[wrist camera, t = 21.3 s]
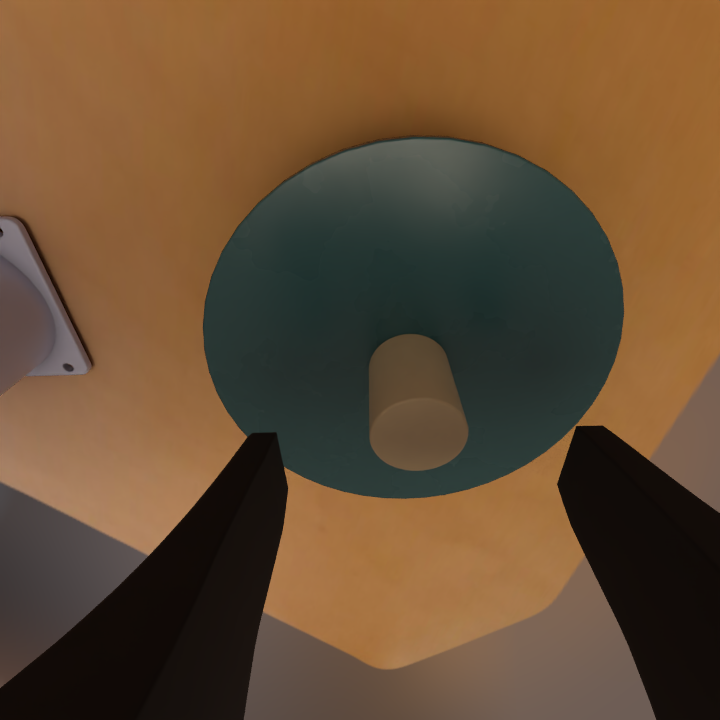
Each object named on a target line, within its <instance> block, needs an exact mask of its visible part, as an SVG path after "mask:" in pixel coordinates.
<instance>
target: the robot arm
mask: <svg viewBox="0 0 720 720" xmlns="http://www.w3.org/2000/svg"><path fill="white" fill-rule="evenodd" d="M0 228H1V229H2V230H3V233H1V232H0V396H1V395H2V394H4V393H5V392H6V391H7V390H8V389H10V388H11V387H12V386H13V385H15V384H16V383H17V382H18V381H20V380H21V379H22V378H23V377H24V376H51V375H83V374H86V373H87V372H88V371H89V370H90V369H91V367H92V366H91V362H90V360H89V358H88V356H87V354H86V352H85V350H84V348H83V346H82V344H81V342H80V340H79V338H78V336H77V334H76V332H75V329H74V327H73V325H72V323H71V321H70V319H69V317H68V315H67V313H66V311H65V309H64V307H63V305H62V303H61V301H60V299H59V296H58V294H57V292H56V290H55V288H54V286H53V284H52V282H51V280H50V278H49V276H48V274H47V272H46V270H45V268H44V266H43V263H42V261H41V259H40V257H39V255H38V253H37V251H36V249H35V247H34V245H33V243H32V241H31V239H30V237H29V235H28V233H27V230H26V228H25V227H24V225H23V224H22V223H21V222H20V221H19V220H18V219H16V218H14V217H10V216H2V217H0ZM69 364H70V365H72V367H71V366H70V365H69ZM557 485H558V488H559V492H560V495H561V498H562V501H563V504H564V507H565V510H566V513H567V515H568V518H569V521H570V524H571V526H572V528H573V531H574V533H575V535H576V537H577V539H578V541H579V543H580V545H581V547H582V550H583V552H584V554H585V556H586V558H587V560H588V562H589V564H590V566H591V568H592V570H593V572H594V574H595V576H596V578H597V580H598V582H599V584H600V586H601V589H602V590H603V592H604V595H605V597H606V599H607V601H608V603H609V605H610V607H611V609H612V611H613V613H614V615H615V617H616V619H617V621H618V623H619V625H620V628H621V630H622V632H623V634H624V637H625V639H626V641H627V643H628V645H629V648H630V651H631V653H632V656H633V658H634V661H635V664H636V666H637V669H638V672H639V674H640V677H641V679H642V682H643V685H644V687H645V690H646V692H647V695H648V698H649V700H650V703H651V706H652V709H653V712H654V714H655V717H656V720H720V513H718V512H717V511H716V510H714V509H713V508H712V507H710V506H709V505H707V504H706V503H705V502H703V501H702V500H701V499H699V498H698V497H697V496H695V495H694V494H692V493H691V492H690V491H688V490H687V489H686V488H684V487H683V486H682V485H680V484H679V483H678V482H676V481H675V480H674V479H672V478H671V477H670V476H668V475H667V474H666V473H665V472H663V471H662V470H661V469H659V468H658V467H657V466H655V465H654V464H653V463H652V462H650V461H649V460H648V459H646V458H645V457H644V456H642V455H641V454H640V453H639V452H637V451H636V450H635V449H633V448H632V447H631V446H629V445H628V444H627V443H626V442H624V441H623V440H622V439H620V438H619V437H618V436H616V435H615V434H614V433H612V432H611V431H609V430H608V429H607V428H605V427H604V426H576V429H575V432H574V435H573V438H572V441H571V444H570V447H569V450H568V453H567V456H566V459H565V462H564V465H563V468H562V471H561V474H560V477H559V480H558V483H557ZM287 494H288V485H287V480H286V475H285V471H284V466H283V461H282V456H281V451H280V447H279V442H278V437H277V432H263V433H251V434H250V435H249V436H248V437H247V439H246V440H245V441H244V443H243V444H242V445H241V447H240V448H239V449H238V451H237V452H236V453H235V455H234V456H233V457H232V459H231V460H230V461H229V463H228V464H227V465H226V467H225V468H224V469H223V470H222V472H221V473H220V474H219V476H218V477H217V478H216V479H215V481H214V482H213V483H212V484H211V486H210V487H209V488H208V489H207V490H206V492H205V493H204V494H203V495H202V497H201V498H200V499H199V500H198V501H197V503H196V504H195V505H194V506H193V507H192V509H191V510H190V511H189V512H188V513H187V514H186V516H185V517H184V518H183V519H182V520H181V521H180V522H179V523H178V525H177V526H176V527H175V528H174V529H173V530H172V531H171V532H170V534H169V535H168V536H167V537H166V538H165V539H164V540H163V541H162V542H161V543H160V545H159V546H158V547H157V548H156V549H155V550H154V551H153V552H152V553H151V554H150V555H149V556H148V557H147V558H146V559H145V560H144V561H143V562H142V563H141V564H140V565H139V567H137V568H136V569H135V570H134V572H132V573H131V574H130V575H129V576H128V577H127V578H126V579H125V580H124V581H123V582H122V583H121V584H120V585H119V586H118V587H117V588H116V589H115V590H114V591H113V592H112V593H111V594H110V595H108V596H107V597H106V598H105V599H104V600H103V601H102V602H101V603H100V604H99V605H98V606H96V607H95V608H94V609H93V610H92V611H91V612H90V613H89V614H88V615H87V616H86V617H84V618H83V619H82V620H81V621H80V622H79V623H78V624H77V625H76V626H75V627H73V628H72V629H71V630H70V631H69V632H68V633H67V634H65V635H64V636H63V637H62V638H61V639H59V640H58V641H57V642H56V643H55V644H54V645H52V646H51V647H50V648H49V649H47V650H46V651H45V652H44V653H43V654H41V655H40V656H39V657H38V658H37V659H35V660H34V661H33V662H32V663H30V664H29V665H28V666H27V667H25V668H24V669H23V670H22V671H21V672H19V673H18V674H17V675H16V676H14V677H13V678H12V679H11V680H10V681H8V682H7V683H6V684H5V685H4V686H2V687H1V688H0V720H244V713H245V707H246V700H247V693H248V687H249V680H250V673H251V667H252V662H253V655H254V649H255V644H256V639H257V634H258V629H259V625H260V620H261V616H262V612H263V608H264V604H265V600H266V596H267V592H268V588H269V584H270V580H271V576H272V572H273V568H274V564H275V560H276V556H277V551H278V547H279V543H280V539H281V535H282V531H283V525H284V518H285V510H286V502H287Z"/></svg>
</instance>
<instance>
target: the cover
mask: <svg viewBox="0 0 720 720" xmlns="http://www.w3.org/2000/svg"><path fill="white" fill-rule="evenodd" d="M623 317H624V303H623V286H622V282H621V277H620V272H619V267H618V263H617V260H616V257H615V255H614V252H613V250H612V247H611V245H610V242H609V240H608V238H607V236H606V234H605V232H604V231H603V229H602V228H601V226H600V224H599V223H598V221H597V220H596V218H595V216H594V215H593V213H592V212H591V211H590V210H589V209H588V208H587V206H586V205H585V204H584V203H583V202H582V201H581V200H580V199H579V198H578V196H577V195H576V194H575V193H574V192H573V191H572V190H571V189H570V188H568V187H567V186H566V185H565V184H563V183H562V182H561V181H559V180H558V179H557V178H556V177H554V176H553V175H552V174H550V173H549V172H548V171H546V170H545V169H543V168H541V167H539V166H537V165H535V164H533V163H532V162H530V161H528V160H526V159H524V158H522V157H521V156H519V155H516V154H514V153H511V152H508V151H505V150H502V149H499V148H497V147H494V146H491V145H488V144H485V143H482V142H477V141H472V140H466V139H460V138H455V137H449V136H422V135H411V136H403V137H394V138H386V139H378V140H374V141H370V142H367V143H363V144H360V145H356V146H352V147H349V148H345V149H342V150H340V151H338V152H335V153H333V154H331V155H329V156H326V157H324V158H322V159H319V160H317V161H315V162H313V163H311V164H309V165H308V166H306V167H305V168H303V169H301V170H300V171H298V172H297V173H295V174H293V175H292V176H290V177H289V178H287V179H285V180H284V181H283V182H282V183H281V184H279V185H278V186H277V187H276V188H275V189H274V190H272V191H271V192H270V193H269V194H268V195H267V196H265V197H264V198H263V199H262V200H261V201H260V202H259V203H258V204H257V205H256V206H255V207H254V208H253V209H252V211H251V212H250V213H249V214H248V215H247V216H246V217H245V219H244V220H243V221H242V222H241V223H240V224H239V226H238V227H237V228H236V230H235V232H234V233H233V235H232V236H231V238H230V240H229V241H228V243H227V244H226V246H225V248H224V249H223V251H222V253H221V255H220V257H219V260H218V262H217V265H216V267H215V269H214V272H213V274H212V276H211V280H210V284H209V288H208V292H207V296H206V300H205V308H204V319H203V335H204V350H205V355H206V359H207V364H208V368H209V373H210V375H211V378H212V380H213V383H214V386H215V388H216V391H217V393H218V395H219V397H220V399H221V401H222V403H223V404H224V406H225V408H226V410H227V412H228V413H229V414H230V416H231V417H232V419H233V420H234V421H235V423H236V424H237V425H238V427H239V428H240V429H241V430H242V431H243V432H244V434H245V435H246V436H247V437H248V436H249V435H250V434H251V433H263V432H277V437H278V442H279V447H280V451H281V456H282V461H283V466H284V467H286V468H287V469H289V470H291V471H293V472H295V473H297V474H298V475H300V476H302V477H304V478H306V479H309V480H311V481H314V482H316V483H319V484H321V485H324V486H327V487H330V488H333V489H337V490H340V491H343V492H348V493H353V494H358V495H363V496H371V497H380V498H402V499H406V498H424V497H432V496H439V495H446V494H450V493H455V492H459V491H463V490H468V489H471V488H474V487H477V486H480V485H483V484H486V483H489V482H491V481H494V480H496V479H498V478H501V477H503V476H505V475H508V474H510V473H511V472H513V471H515V470H517V469H519V468H521V467H523V466H524V465H526V464H528V463H529V462H531V461H532V460H534V459H535V458H537V457H538V456H540V455H541V454H543V453H544V452H546V451H547V450H548V449H550V448H551V447H552V446H553V445H554V444H556V443H557V442H558V441H559V440H560V439H562V438H563V437H564V436H565V435H566V434H567V433H568V432H569V431H570V430H571V429H572V428H573V427H574V426H575V425H576V424H577V423H578V422H579V420H580V419H581V418H582V417H583V415H584V414H585V413H586V411H587V410H588V409H589V408H590V406H591V405H592V404H593V402H594V401H595V399H596V397H597V396H598V394H599V392H600V391H601V389H602V387H603V386H604V384H605V382H606V380H607V378H608V375H609V373H610V371H611V368H612V366H613V364H614V362H615V358H616V354H617V351H618V347H619V344H620V340H621V334H622V326H623Z"/></svg>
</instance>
